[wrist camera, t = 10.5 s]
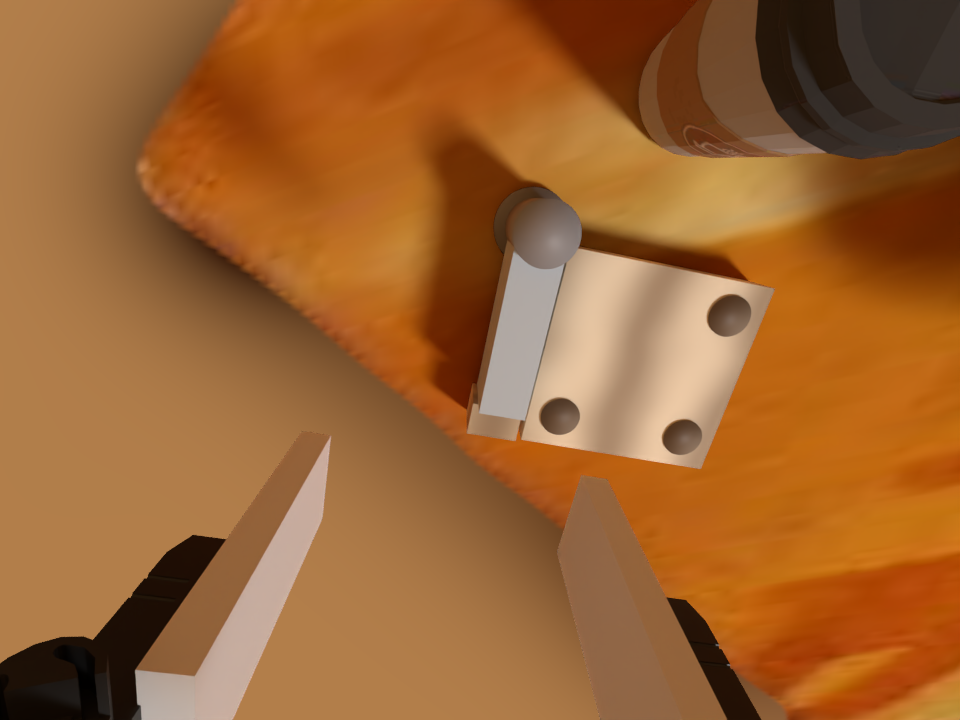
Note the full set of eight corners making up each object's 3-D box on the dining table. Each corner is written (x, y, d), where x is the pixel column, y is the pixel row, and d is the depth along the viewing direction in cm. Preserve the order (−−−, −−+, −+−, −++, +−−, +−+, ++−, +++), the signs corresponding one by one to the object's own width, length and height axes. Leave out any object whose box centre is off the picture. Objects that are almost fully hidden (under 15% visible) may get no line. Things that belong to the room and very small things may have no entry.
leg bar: (511, 193, 26) (521, 191, 21) (567, 204, 26) (589, 206, 21) (472, 383, 29) (473, 418, 25) (521, 391, 30) (532, 428, 25)
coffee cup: (593, 150, 26) (750, 94, 12) (652, -25, 23) (947, -371, 9) (728, 194, 27) (1021, 192, 13) (799, 31, 24) (1271, -202, 10)
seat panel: (766, 236, 28) (803, 241, 25) (683, 449, 32) (706, 475, 29) (502, 179, 26) (507, 177, 23) (455, 411, 31) (454, 434, 28)
